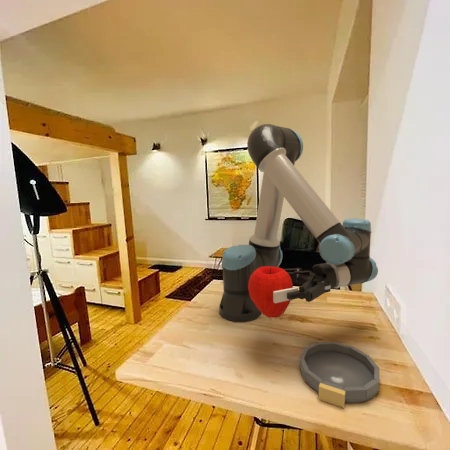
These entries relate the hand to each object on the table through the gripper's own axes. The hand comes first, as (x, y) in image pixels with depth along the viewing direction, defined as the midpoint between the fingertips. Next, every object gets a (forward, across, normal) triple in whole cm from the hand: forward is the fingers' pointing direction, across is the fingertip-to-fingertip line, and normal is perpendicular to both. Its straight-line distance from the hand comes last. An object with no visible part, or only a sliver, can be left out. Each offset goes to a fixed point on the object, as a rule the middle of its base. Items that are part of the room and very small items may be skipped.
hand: (261, 288), depth 70 cm
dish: (-12, -14, -18) cm, 26 cm away
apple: (-3, 0, -8) cm, 9 cm away
